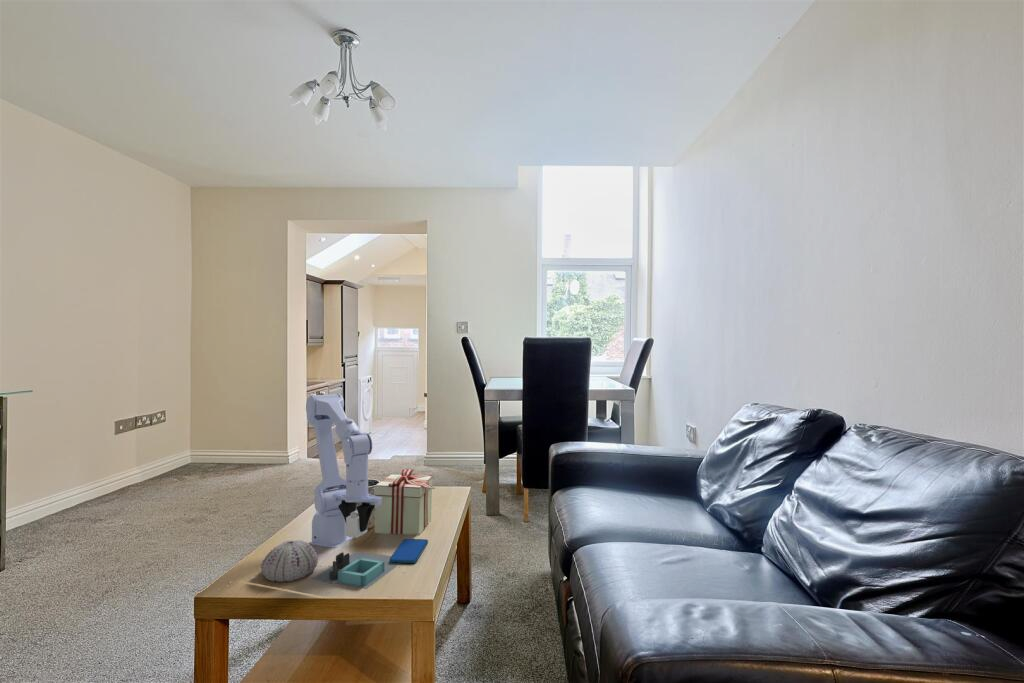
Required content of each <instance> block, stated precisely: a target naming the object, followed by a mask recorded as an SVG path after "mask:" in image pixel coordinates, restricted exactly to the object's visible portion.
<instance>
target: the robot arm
mask: <svg viewBox="0 0 1024 683" xmlns="http://www.w3.org/2000/svg"><path fill="white" fill-rule="evenodd" d="M344 406H345V400H344V397H343V396H342V395H341V393H339V392H338V393H333V394H317V395H313V394H311V395H309V396H308V397H307V398H306V403H305V412H306V418H307V421H308V425H310V426H312V427H313V428H314V429H313V430H314V433H315V440H316V446H317V452H318V459H319V466H320V474H321V478H322V480H321V481H320V482H319V483H318V484H317V486H316V487H315V488H314V492H313V493H314V500H313V502H314V508H315V511H316V513H314V515H313V516H312V520H311V541H310V542H309V544H310V545H315V546H321V547H327V548H333V549H335V548H339V547H341V546H342V545H344V544H346V543H347V542H349V541H351V540H353V538H354V537H348V536H346V517H348V516H350V513H352V512H354V511H356V510H357V511H358V515H359V528H360V532H363V531H365V530H367V531H368V525H369V521H370V518H371V515H372V513H373V510H375V506H380V505H381V504H382V497H378V496H374V494H371V493H369V455H371V453H372V451H373V441H372V437H371V435H370V434H369V433H367V432H362V431H361V430H360V428H359V426H358V424H356V422H355V420H353V419H352V418H348V417H347V414H346V413H345V410H344V408H345V407H344ZM333 425H335V428H334V432H335V434H336V435H337V437H338V438H339V440H340V441H341V443H342V452H343V459H344V463H345V465H346V466H345V469H346V470H345V478H343V477H341V476H340V471H339V464H338V457H337V453H336V448H335V446H336V445H335V441H334V435H333V428H332V426H333ZM357 504H360V505H358V506H357Z"/></svg>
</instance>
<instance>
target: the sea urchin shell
mask: <svg viewBox="0 0 1024 683" xmlns="http://www.w3.org/2000/svg"><path fill="white" fill-rule="evenodd" d="M317 554H318V552H316V550H315V548H314V547H313V546H312V544H310V543H308V542H306V541H304V540H300V539H299V540H287V541H283V542H281V543H280V544H277V545H276V546H274V547H273V548H272V549H271V550H270V551H269V552H268V553H267V554H266V555H265V557H264V559H263V560H261V561H262V562H261V566H260V570H261V571H260V572H261V573H262V575H263V576H264V577H265V579H267V580H268V581H270V582H278V583H284V582H289V583H290V582H294V581H298V580H301V579H302V578H305V577H306V576H310V574H311V573H313V571H314V570H315V569H316V568H317V566H318V563H319V556H318V555H317Z"/></svg>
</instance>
